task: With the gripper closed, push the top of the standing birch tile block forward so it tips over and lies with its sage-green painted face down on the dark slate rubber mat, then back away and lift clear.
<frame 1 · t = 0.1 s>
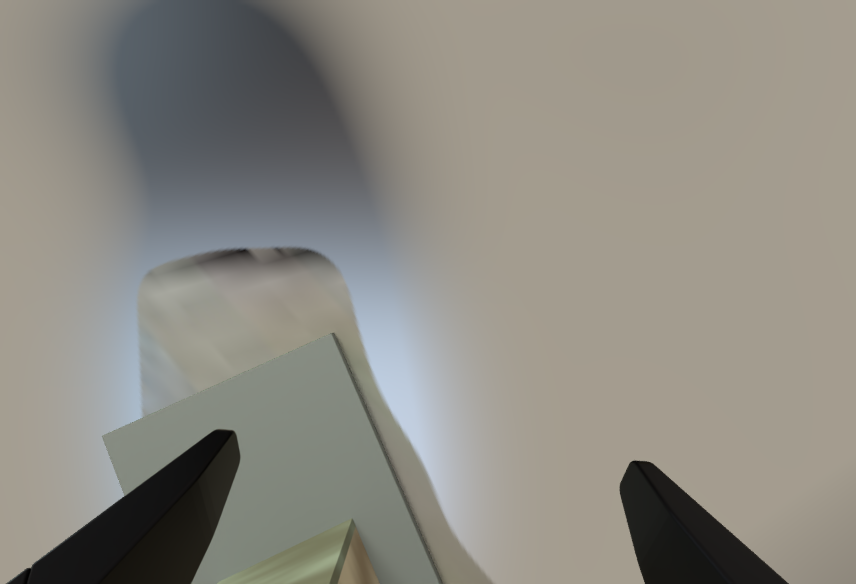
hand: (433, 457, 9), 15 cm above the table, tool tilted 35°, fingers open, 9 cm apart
slate mat: (277, 509, 23), on the table
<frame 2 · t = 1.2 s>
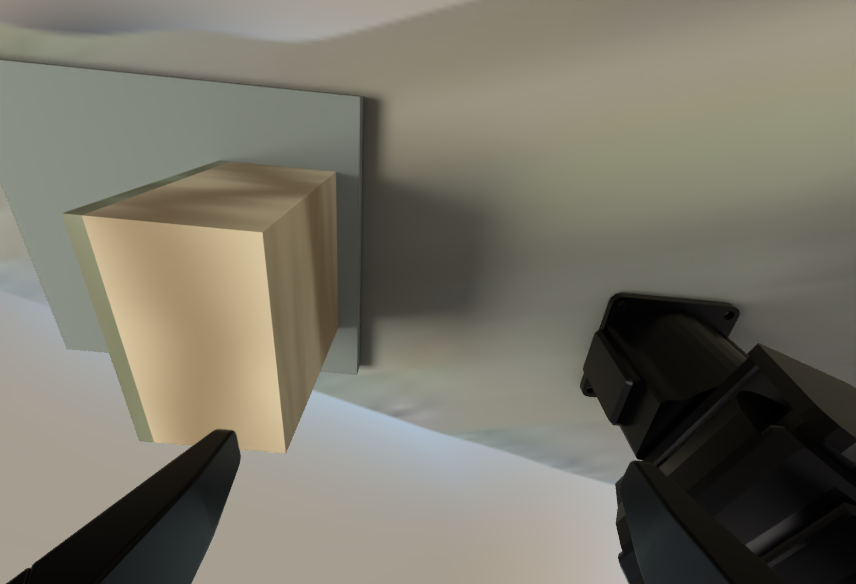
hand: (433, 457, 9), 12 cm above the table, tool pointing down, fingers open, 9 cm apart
tile block: (284, 252, 19), point 1 cm above the table, touching slate mat
slate mat: (198, 237, 20), on the table
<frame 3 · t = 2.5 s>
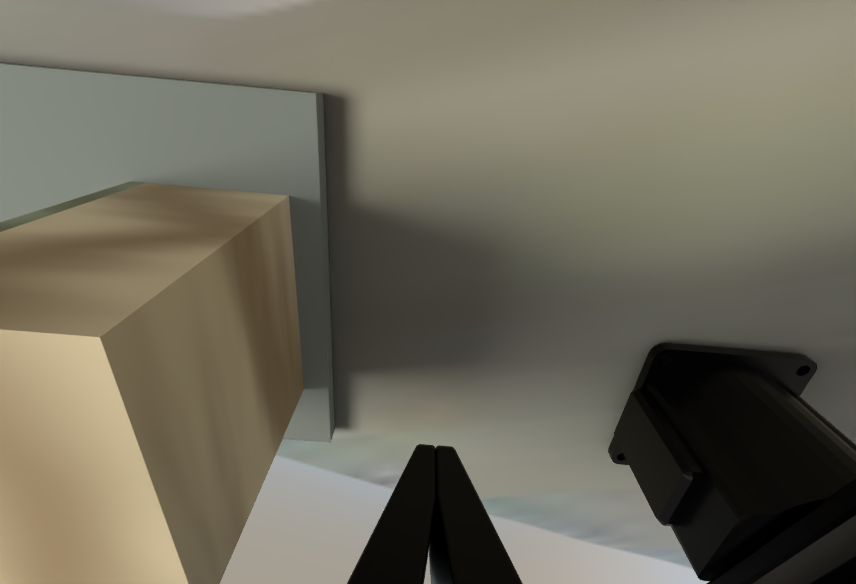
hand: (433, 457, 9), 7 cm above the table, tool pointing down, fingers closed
tile block: (228, 299, 14), point 1 cm above the table, touching slate mat
slate mat: (118, 279, 15), on the table
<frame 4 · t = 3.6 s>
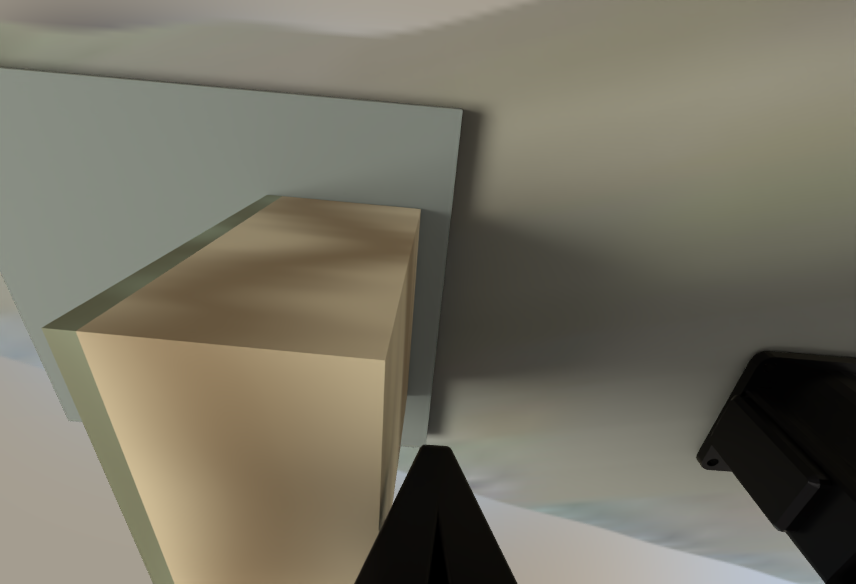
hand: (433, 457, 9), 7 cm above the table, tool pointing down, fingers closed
tile block: (345, 308, 15), point 1 cm above the table, touching gripper, slate mat
slate mat: (233, 288, 15), on the table
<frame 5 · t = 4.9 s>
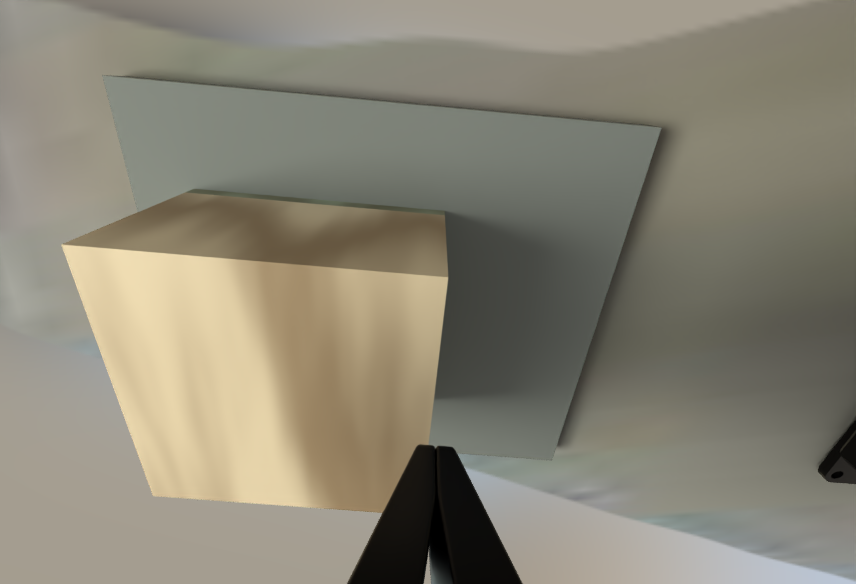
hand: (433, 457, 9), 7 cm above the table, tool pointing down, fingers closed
tile block: (432, 358, 12), point 3 cm above the table, tilted 90°, touching slate mat
slate mat: (381, 302, 15), on the table
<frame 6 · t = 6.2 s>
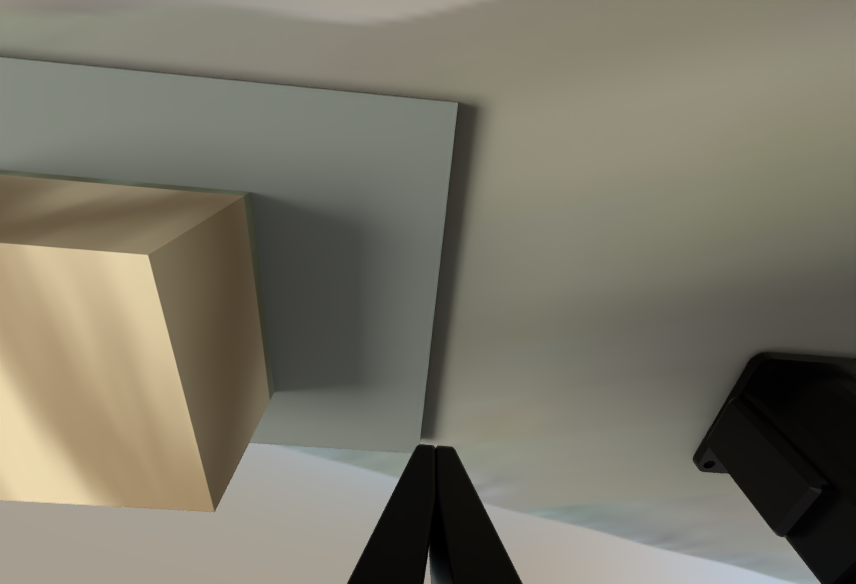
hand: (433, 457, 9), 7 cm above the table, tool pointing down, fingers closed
tile block: (233, 347, 12), point 3 cm above the table, tilted 90°, touching slate mat
slate mat: (216, 290, 15), on the table
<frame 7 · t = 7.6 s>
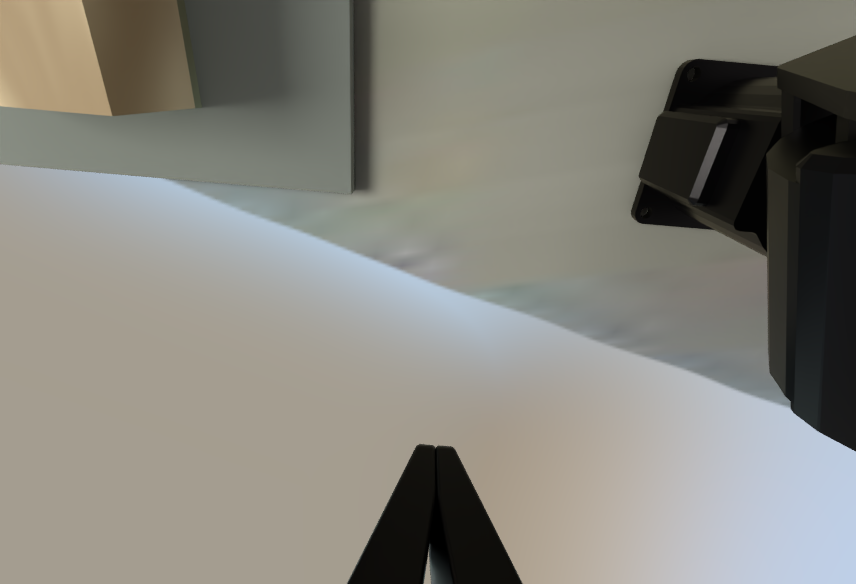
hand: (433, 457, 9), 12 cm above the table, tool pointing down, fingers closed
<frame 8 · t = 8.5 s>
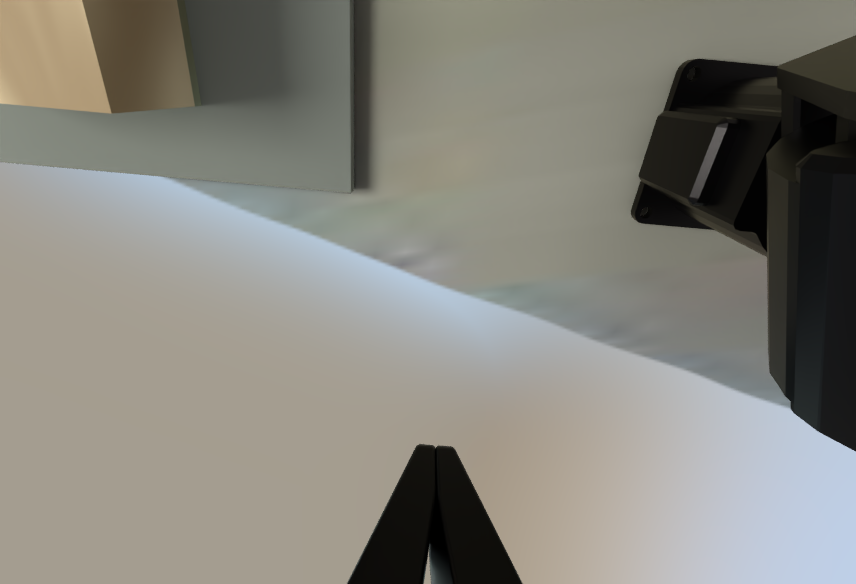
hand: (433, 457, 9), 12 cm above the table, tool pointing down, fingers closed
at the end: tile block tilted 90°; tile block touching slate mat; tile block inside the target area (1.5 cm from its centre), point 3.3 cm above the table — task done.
